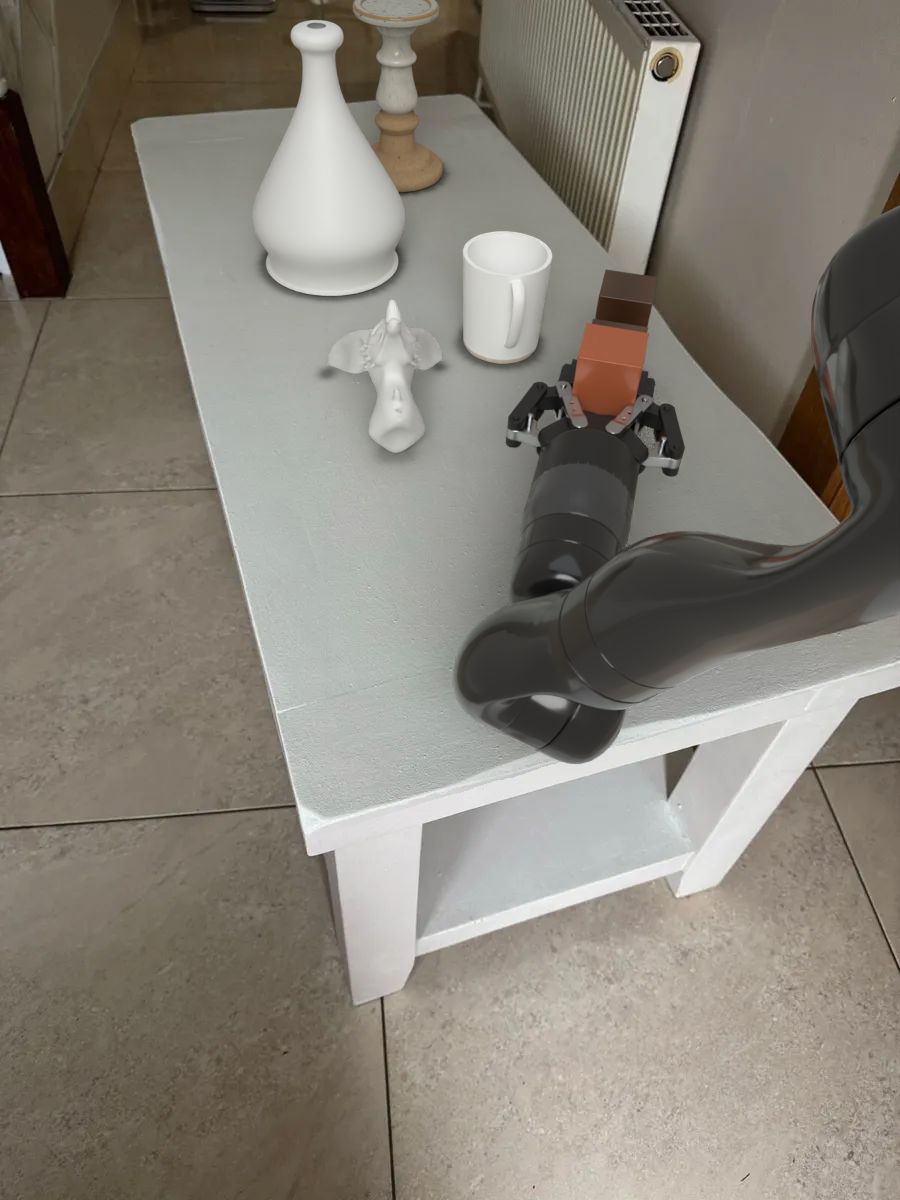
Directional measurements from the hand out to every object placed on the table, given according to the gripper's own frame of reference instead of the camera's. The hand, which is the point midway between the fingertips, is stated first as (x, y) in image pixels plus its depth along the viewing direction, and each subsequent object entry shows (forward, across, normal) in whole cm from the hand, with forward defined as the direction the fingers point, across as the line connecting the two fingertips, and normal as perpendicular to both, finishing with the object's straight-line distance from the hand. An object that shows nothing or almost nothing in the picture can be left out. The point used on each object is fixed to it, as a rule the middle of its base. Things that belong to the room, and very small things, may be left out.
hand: (608, 374), depth 78 cm
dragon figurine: (+4, +20, +12) cm, 23 cm away
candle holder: (+56, +34, +12) cm, 66 cm away
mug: (+19, +12, +12) cm, 25 cm away
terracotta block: (-3, 0, +6) cm, 7 cm away
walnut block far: (+15, 0, +11) cm, 19 cm away
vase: (+31, +35, +12) cm, 48 cm away
